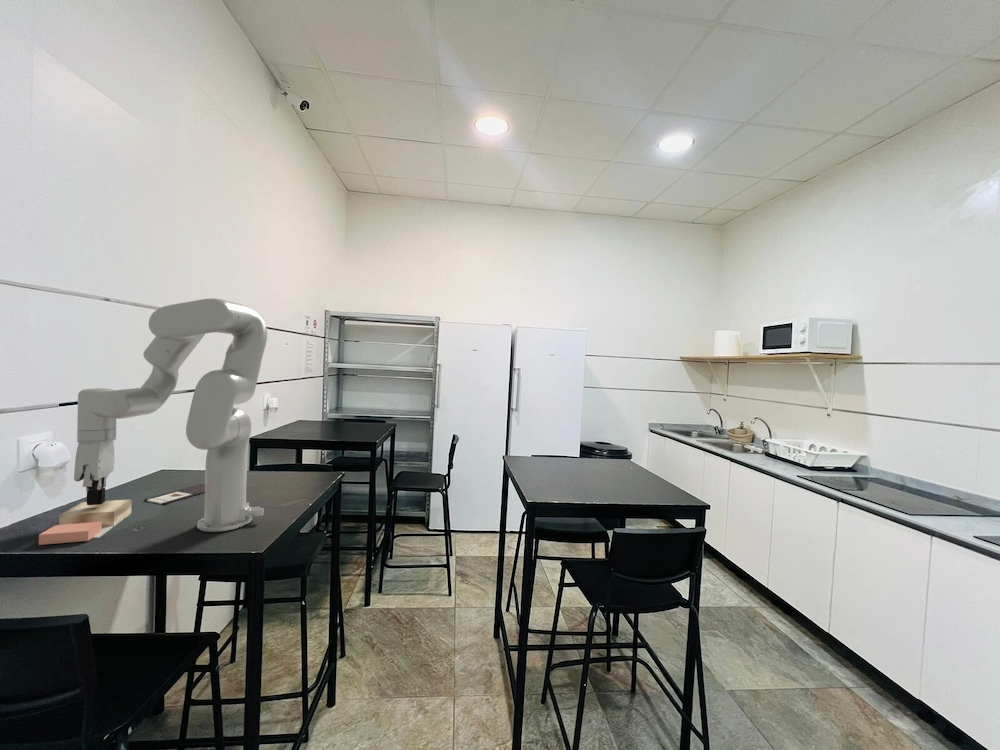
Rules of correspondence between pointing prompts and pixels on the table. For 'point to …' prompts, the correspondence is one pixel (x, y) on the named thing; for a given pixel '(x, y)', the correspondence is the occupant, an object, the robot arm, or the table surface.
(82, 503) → the wooden block
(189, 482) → the table surface
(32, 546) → the table surface
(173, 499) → the chocolate bar
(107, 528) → the mat
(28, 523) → the table surface
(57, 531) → the pink rubber eraser
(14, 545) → the table surface
